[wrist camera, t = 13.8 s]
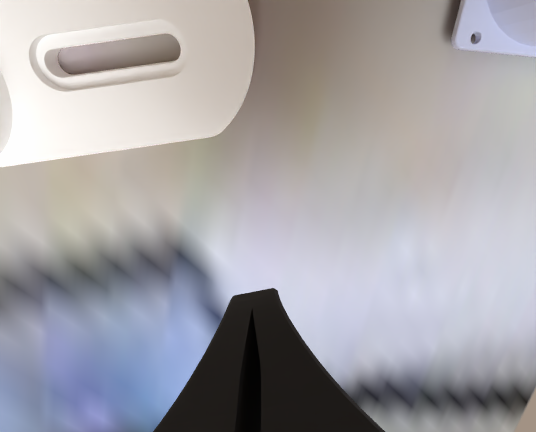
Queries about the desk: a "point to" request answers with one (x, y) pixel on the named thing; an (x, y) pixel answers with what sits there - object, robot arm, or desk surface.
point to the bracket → (118, 76)
